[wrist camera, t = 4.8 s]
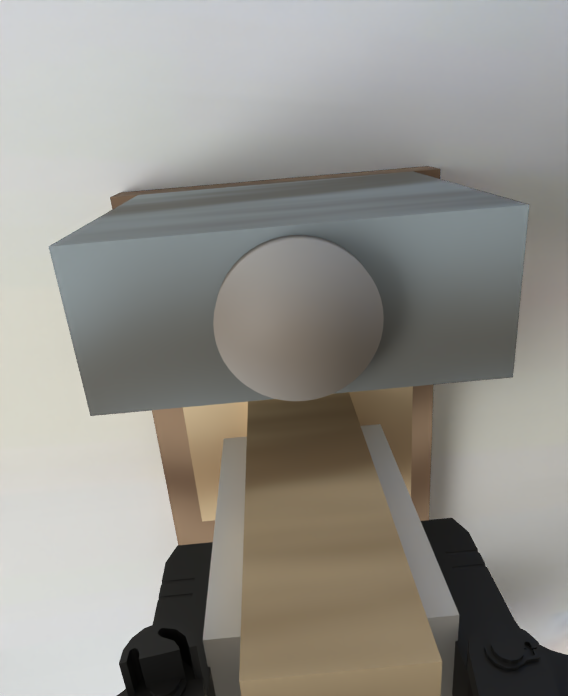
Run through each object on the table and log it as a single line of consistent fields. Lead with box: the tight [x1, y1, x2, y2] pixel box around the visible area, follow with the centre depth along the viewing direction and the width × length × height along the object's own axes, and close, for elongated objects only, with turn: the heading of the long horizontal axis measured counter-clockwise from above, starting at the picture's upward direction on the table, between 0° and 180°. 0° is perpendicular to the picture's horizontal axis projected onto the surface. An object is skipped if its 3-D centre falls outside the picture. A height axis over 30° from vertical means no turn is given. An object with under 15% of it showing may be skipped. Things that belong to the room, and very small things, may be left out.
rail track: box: [49, 166, 529, 545], centre depth 21 cm, size 26×12×11 cm, turn 4°
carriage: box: [183, 386, 442, 696], centre depth 15 cm, size 5×7×14 cm
